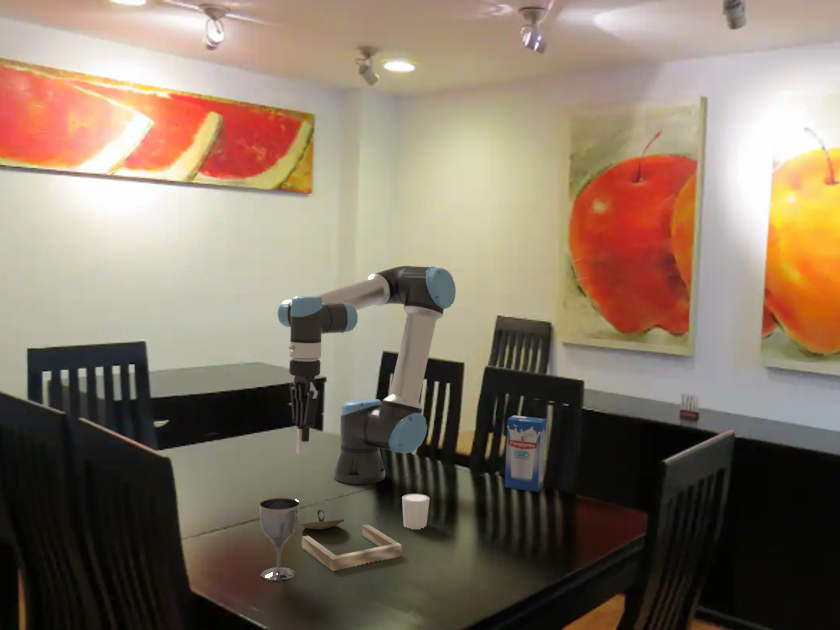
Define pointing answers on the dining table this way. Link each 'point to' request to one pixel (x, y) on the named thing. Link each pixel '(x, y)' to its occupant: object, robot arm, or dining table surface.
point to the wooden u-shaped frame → (333, 562)
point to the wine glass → (279, 530)
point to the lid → (321, 523)
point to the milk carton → (525, 453)
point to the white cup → (415, 510)
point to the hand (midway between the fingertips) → (302, 453)
